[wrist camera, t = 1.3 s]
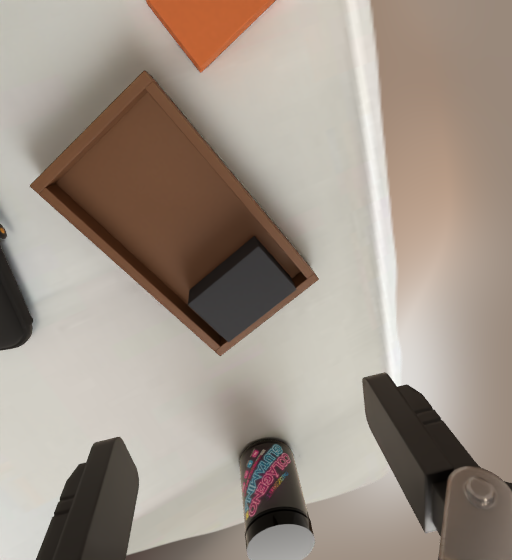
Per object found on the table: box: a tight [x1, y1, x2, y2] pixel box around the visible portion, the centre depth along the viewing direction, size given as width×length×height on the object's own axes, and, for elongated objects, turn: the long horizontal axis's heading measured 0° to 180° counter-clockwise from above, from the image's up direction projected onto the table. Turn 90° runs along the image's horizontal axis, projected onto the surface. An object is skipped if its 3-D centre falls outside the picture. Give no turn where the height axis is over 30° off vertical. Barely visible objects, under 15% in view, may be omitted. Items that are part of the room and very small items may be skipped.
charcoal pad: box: [188, 236, 296, 342], centre depth 33 cm, size 5×8×3 cm
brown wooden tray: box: [30, 71, 319, 356], centre depth 31 cm, size 21×12×3 cm, turn 40°
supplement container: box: [240, 439, 315, 560], centre depth 40 cm, size 7×7×10 cm
